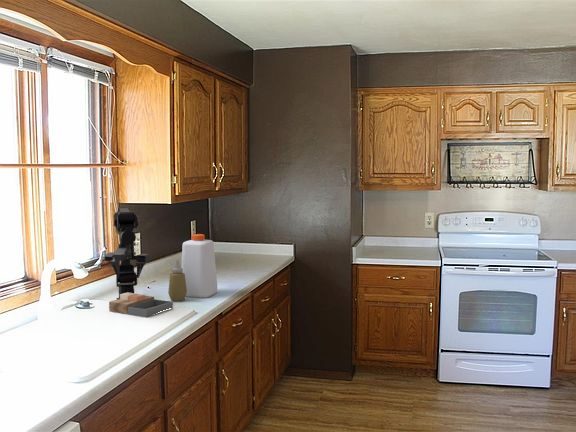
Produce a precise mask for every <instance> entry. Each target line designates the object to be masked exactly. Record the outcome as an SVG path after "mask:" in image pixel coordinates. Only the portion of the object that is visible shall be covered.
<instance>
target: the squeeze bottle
mask: <svg viewBox="0 0 576 432" xmlns="http://www.w3.org/2000/svg"><path fill="white" fill-rule="evenodd" d="M174 263H175V264H174V267H173V268H171V273H170V275H169V279H168V280H169V282H168V295H169V298H170V300H171V302H176V303H177V302H184V301H185V299H186V298H187V297H186V293H187V288H186V280H185V274H184V273H182V272H183V268H181V266H180V262H179V259H175V262H174Z"/></svg>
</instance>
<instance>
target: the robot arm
mask: <svg viewBox="0 0 576 432" xmlns="http://www.w3.org/2000/svg"><path fill="white" fill-rule="evenodd" d="M138 220H139V219H138V216H137V213H135V211H130V207H128V206H126V207H125V206H120V207H117V211H116V212H115V213H113V227H114V230H115V232H116V234H117V235H118V237H119V238H118V239H119V243H118V248H117V249H116V250H115V251H114V252H107V253H106V254H104V256H103V257H104V259H103V260H104V261H105V262H107V263H108V264H109V265H111V266H112V268H113V270H114V273H115V275H116V276H115V281H116V282H115V284H116V287H117V288H118V297H116V299H115V300H118V299H120V294H123V293H127V292H129V293H135V286H138V279H139V278H140V276H141V273H142V271H143V269H144V267H145V265H146V264H147V263H148V262H149V261H151V255H150V254H149V253H139V254H137V253H136V251H135V246H136V239H137V236H136V233H135V230H134V229H137V228H138V226H139V223H138V222H139V221H138ZM133 260H134V261H136V263H135V265H136V271H135V266H134V264H132V263H131V261H133Z"/></svg>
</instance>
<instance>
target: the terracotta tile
mask: <svg viewBox="0 0 576 432" xmlns="http://www.w3.org/2000/svg"><path fill="white" fill-rule="evenodd" d="M144 295H145V294H143V293H142V294H141V293H136V294H133V295H129V300H130V301H136V302H137V301H141V300H144Z"/></svg>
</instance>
